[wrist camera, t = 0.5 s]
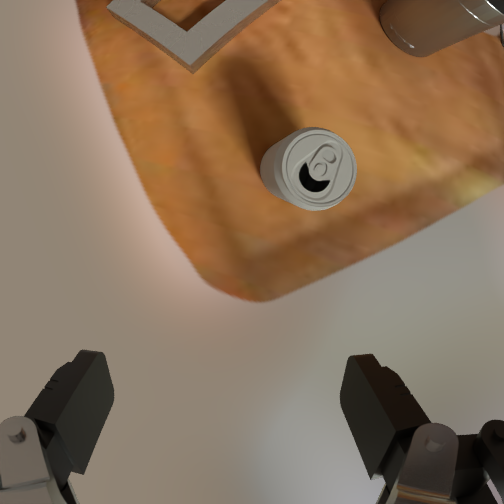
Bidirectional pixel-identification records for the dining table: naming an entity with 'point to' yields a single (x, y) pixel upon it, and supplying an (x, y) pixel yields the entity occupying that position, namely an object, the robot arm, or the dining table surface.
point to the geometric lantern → (502, 35)
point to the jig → (198, 37)
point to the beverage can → (310, 169)
